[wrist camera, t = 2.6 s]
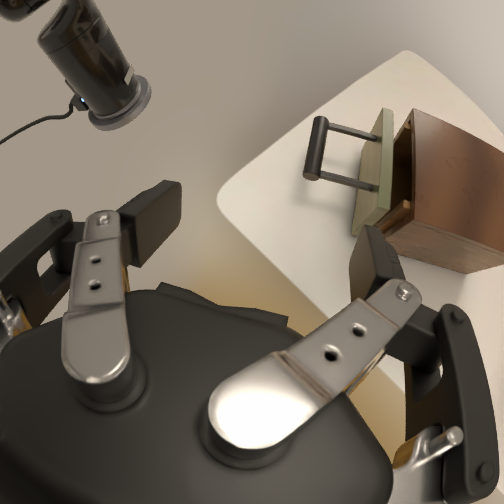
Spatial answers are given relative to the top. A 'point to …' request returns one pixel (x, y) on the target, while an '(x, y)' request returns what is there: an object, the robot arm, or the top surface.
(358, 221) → the drawer
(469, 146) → the cabinet
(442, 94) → the top surface
